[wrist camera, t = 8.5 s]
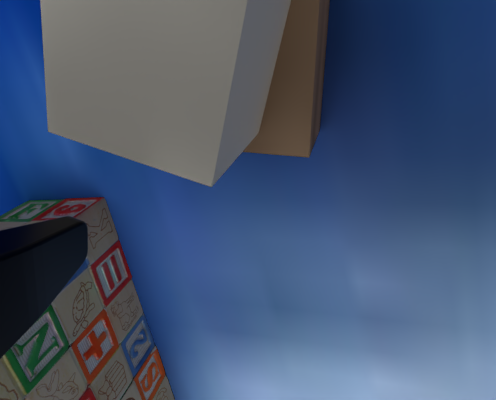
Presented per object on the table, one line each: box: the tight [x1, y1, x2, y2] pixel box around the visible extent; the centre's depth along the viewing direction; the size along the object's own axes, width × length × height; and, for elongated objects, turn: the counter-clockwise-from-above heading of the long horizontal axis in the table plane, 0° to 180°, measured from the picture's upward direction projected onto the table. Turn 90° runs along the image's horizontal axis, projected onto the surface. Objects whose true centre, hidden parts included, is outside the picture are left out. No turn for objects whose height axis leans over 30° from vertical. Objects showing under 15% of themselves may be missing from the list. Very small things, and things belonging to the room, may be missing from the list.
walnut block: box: [243, 0, 330, 157], centre depth 15 cm, size 8×8×4 cm
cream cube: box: [40, 0, 291, 187], centre depth 11 cm, size 5×5×5 cm
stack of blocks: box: [0, 197, 174, 400], centre depth 23 cm, size 21×6×12 cm, turn 10°
